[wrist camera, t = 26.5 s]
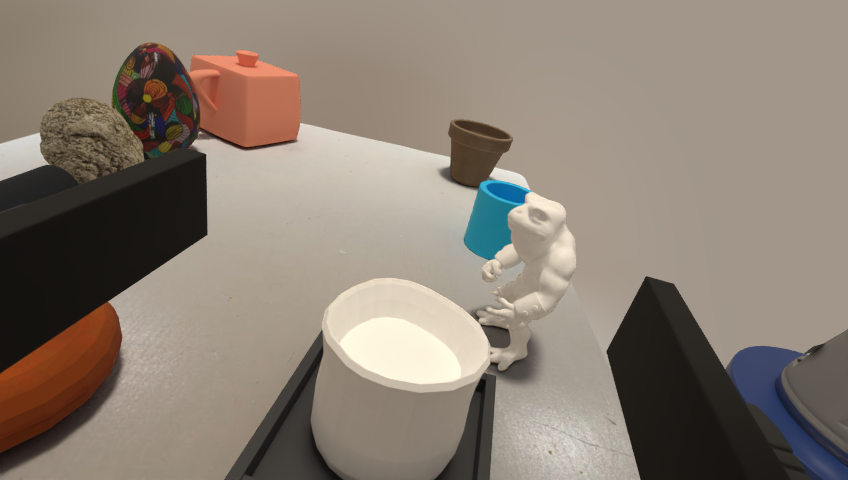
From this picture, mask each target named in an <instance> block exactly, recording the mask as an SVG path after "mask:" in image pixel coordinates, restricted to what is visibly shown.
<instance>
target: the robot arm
mask: <svg viewBox="0 0 848 480" xmlns="http://www.w3.org/2000/svg"><path fill="white" fill-rule="evenodd" d="M206 235H207V179H206V154H204V153H200V152H197V151H193V150H190V149H186V148H180V149H177V150H174V151H171V152H169V153H166V154H163V155H160V156H158V157H155V158H152V159H149V160H147V161H144V162H141V163H138V164H135V165H133V166H130V167H127V168H124V169H122V170H119V171H116V172H113V173H111V174H108V175H105V176H102V177H100V178H97V179H94V180H91V181H88V182H86V183H83V184H80V185H77V186H75V187H72V188H69V189H66V190H64V191H61V192H58V193H55V194H53V195H50V196H47V197H44V198H42V199H39V200H36V201H33V202H30V203H27V204H22V205H19V206H16V207H13V208H10V209H8V210H5V211H2V212H0V373H2V372H3V371H5V370H6V369H8V368H9V367H11V366H12V365H14V364H15V363H17V362H18V361H20V360H21V359H23V358H24V357H26V356H27V355H29V354H30V353H32V352H33V351H35V350H36V349H38V348H39V347H41V346H42V345H44V344H45V343H47V342H48V341H50V340H51V339H53V338H54V337H56V336H57V335H59V334H60V333H61V332H63V331H64V330H66V329H67V328H69V327H70V326H72V325H73V324H75V323H76V322H78V321H79V320H81V319H82V318H84V317H85V316H87V315H88V314H90V313H91V312H93V311H94V310H96V309H97V308H99V307H100V306H102V305H103V304H105V303H106V302H108V301H109V300H111V299H112V298H114V297H115V296H117V295H118V294H120V293H121V292H123V291H124V290H126V289H127V288H129V287H130V286H132V285H133V284H135V283H136V282H138V281H139V280H141V279H142V278H144V277H145V276H147V275H148V274H150V273H151V272H152V271H154V270H155V269H157V268H158V267H160V266H161V265H163V264H164V263H166V262H167V261H169V260H170V259H172V258H173V257H175V256H176V255H178V254H179V253H181V252H182V251H184V250H185V249H187V248H188V247H190V246H191V245H193V244H194V243H196V242H197V241H199V240H200V239H202V238H203V237H205V236H206ZM811 352H812V353H811ZM807 353H810V354H809V355H805V356H801V357H798V358H797V359H795V360H793V361H792V362H790V363H789V364H788V365H787V366H786V367H785V368H784V369H783V371H782V372H781V373H780V374H779V376H778V377H777V379H776V382H775V388H776V392H777V395H778V397H779V399H780V401H781V403H782V404H783V406H784V407H785V409H786V410H787V411H788V413H789V414H790V415H791V416H792V418H793V419H794V420H795V421H796V422H797V423H798V424H799V426H800V427H801V428H802V429H803V430H804V431H805V432H806V433H807V434H808V435H809V436H811V437H812V438H813V439H814V440H815V441H816V442H817V443H818V444H820V445H821V446H822V447H823V448H824V449H825V450H827V451H828V452H829V453H830V454H832V455H833V456H834V457H836V458H837V459H838V460H840V461H841V462H842V463H844V464H845V465H846V466H848V330H846V331H845V332H843V333H841V334H839V335H838V336H836V337H834V338H832V339H831V340H829V341H828V342H826V343H824V344H821V345H817V346H814V347H812V348H811V349H809V350H808V351H807V352H806V353H804V354H807ZM804 354H803V355H804ZM607 355H608V359H609V362H610V366H611V370H612V374H613V378H614V381H615V385H616V389H617V392H618V396H619V400H620V404H621V407H622V411H623V415H624V419H625V422H626V426H627V430H628V434H629V437H630V441H631V445H632V449H633V452H634V456H635V460H636V464H637V467H638V471H639V475H640V479H641V480H812V479H811V477H810V476H809V475H807V474H805V468H804V467H803V465H802V463H801V462H800V460H799V459H798V457H797V456H796V455H794V454H793V449H792V448H791V446H790V445H789V443H788V442H787V440H786V439H785V437H784V435H783V434H782V432H781V431H780V429H779V428H778V427H777V426H776V425H775V424H774V423H773V422H772V421H771V420H770V419H769V418H768V417H767V416H766V415H765V414H764V413H763V412H762V411H761V410H760V409H759V408H758V407H757V406H756V405H753V404H749V403H746V402H744V400H743V399H742V397H741V395H740V394H739V392H738V390H737V389H736V387H735V385H734V384H733V382H732V380H731V379H730V377H729V375H728V374H727V372H726V370H725V369H724V367H723V365H722V364H721V362H720V361H719V359H718V357H717V355H716V354H715V352H714V350H713V349H712V347H711V345H710V344H709V342H708V340H707V339H706V337H705V335H704V333H703V332H702V330H701V328H700V327H699V325H698V323H697V322H696V320H695V318H694V317H693V315H692V313H691V312H690V310H689V308H688V307H687V305H686V303H685V302H684V300H683V298H682V297H681V295H680V293H679V292H678V290H677V288H676V287H675V285H674V284H672V283H668V282H665V281H661V280H658V279H654V278H651V277H647V276H646V277H645V279H644V281H643V283H642V285H641V287H640V289H639V291H638V292H637V295H636V296H635V298H634V300H633V302H632V304H631V306H630V308H629V310H628V311H627V313H626V315H625V317H624V319H623V321H622V323H621V325H620V327H619V329H618V330H617V332H616V334H615V336H614V338H613V340H612V342H611V344H610V346H609V347H608V350H607Z"/></svg>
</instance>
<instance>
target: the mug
mask: <svg viewBox="0 0 848 480" xmlns="http://www.w3.org/2000/svg"><path fill="white" fill-rule="evenodd" d="M530 192H531V191H529V190H528V189H526V188H523V187H521V186H518V185H515V184H512V183H509V182H503V181H496V180H488V181H484V182H481V184H480V186H479V190H478V193H477V197H476V200H475V204H474V207H473V210H472V214H471V217H470V221H469V224H468V228H467V231H466V234H465V238H464V242H465V245H466V246H467V247H468V248H469V249H470V250H471V251H473V252H474V253H475V254H477V255H479V256H481V257H483V258H486V259H489V260H493V259H496V258H495V255H496V254H497V252H498V251H501V250H502V249H503V248H504V246H506V245H509V244H512V241H511V232H512V230H510V229H509V227H508V214H509V213H510V211H511V210H512V209H514V208H516V207H518V206H522V205H523V204H524V203H525V196H526V194H528V193H530Z"/></svg>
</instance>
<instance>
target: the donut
mask: <svg viewBox="0 0 848 480" xmlns="http://www.w3.org/2000/svg"><path fill="white" fill-rule="evenodd" d="M121 342H122V333H121V328H120V323H119V318H118V316H117V314H116V311H115V309H114V308H113V307H112V306H111V304H110V303H109V302H106V303H105V304H103V305H102V306H100V307H99V308H97V309H96V310H94V311H93V312H91V313H90V314H88V315H87V316H85V317H84V318H82V319H81V320H79V321H78V322H76V323H75V324H73V325H72V326H70V327H69V328H67V329H66V330H64V331H63V332H61V333H60V334H59V335H57V336H56V337H54V338H53V339H51V340H50V341H48V342H47V343H45V344H44V345H42V346H41V347H39V348H38V349H36V350H35V351H33V352H32V353H30V354H29V355H27V356H26V357H24V358H23V359H21V360H20V361H18V362H17V363H15V364H14V365H12V366H11V367H9V368H8V369H6V370H5V371H3V372H2V373H0V453H2V452H4V451H6V450H8V449H10V448H12V447H14V446H16V445H18V444H20V443H22V442H24V441H26V440H28V439H31V438H33V437H35V436H37V435H39V434H41V433H43V432H45V431H47V430H48V429H50V428H51V427H53V426H54V425H55V424H57V423H58V422H59V421H61V420H62V419H64V418H65V417H66V416H68V415H69V414H70V413H72V412H73V411H75V410H76V409H77V408H79V407H80V406H81V405H83V404H84V403H85V402H86V401H87V400H88V399H89V398H90V397H91V396H92V394H93V393H94V392H95V391H96V390H97V389H98V387H99V386H100V385H101V384H102V383H103V382H104V380H105V379H106V378H107V377H108V376H109V375H110V373H111V372H112V369H113V367H114V364H115V361H116V358H117V356H118V353H119V350H120V347H121Z"/></svg>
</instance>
